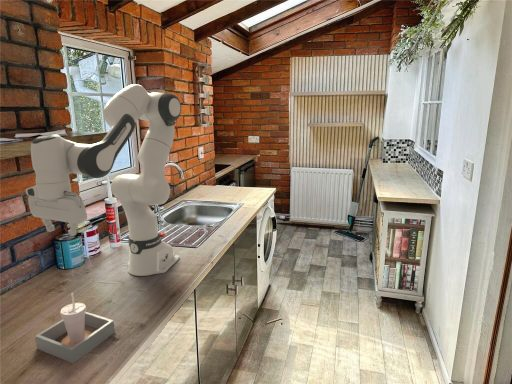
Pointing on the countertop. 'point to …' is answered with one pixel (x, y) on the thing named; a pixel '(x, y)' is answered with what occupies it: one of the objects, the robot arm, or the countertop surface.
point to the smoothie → (74, 320)
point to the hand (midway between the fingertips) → (61, 233)
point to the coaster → (68, 343)
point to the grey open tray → (82, 348)
